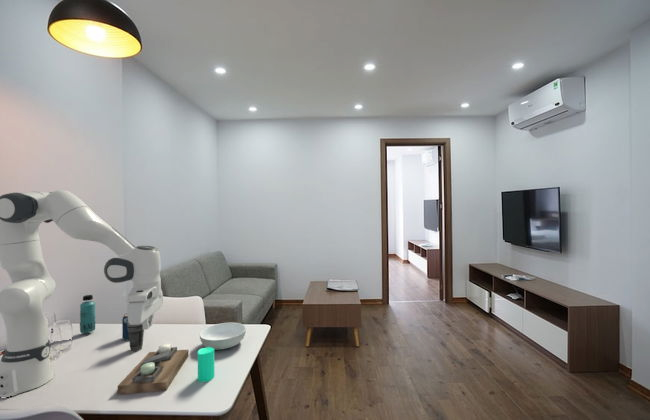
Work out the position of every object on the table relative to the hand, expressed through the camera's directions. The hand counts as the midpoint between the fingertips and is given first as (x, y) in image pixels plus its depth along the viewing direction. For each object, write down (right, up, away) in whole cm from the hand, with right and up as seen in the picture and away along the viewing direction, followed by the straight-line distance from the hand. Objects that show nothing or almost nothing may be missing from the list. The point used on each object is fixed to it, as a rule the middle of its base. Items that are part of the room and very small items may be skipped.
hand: (147, 327), depth 110 cm
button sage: (0, -16, 0) cm, 16 cm away
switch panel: (-1, -21, +8) cm, 23 cm away
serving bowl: (+17, -21, +33) cm, 42 cm away
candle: (+20, -21, +5) cm, 29 cm away
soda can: (-33, -22, +41) cm, 57 cm away
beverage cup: (-22, -21, +28) cm, 42 cm away
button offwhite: (-2, -16, +16) cm, 23 cm away
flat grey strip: (-1, -16, +8) cm, 18 cm away
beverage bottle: (-59, -22, +46) cm, 78 cm away
